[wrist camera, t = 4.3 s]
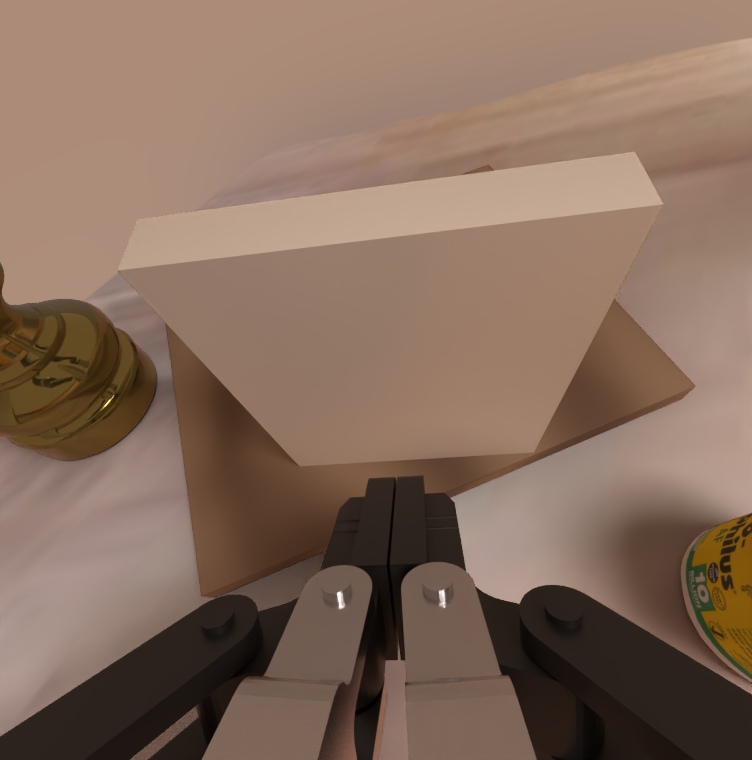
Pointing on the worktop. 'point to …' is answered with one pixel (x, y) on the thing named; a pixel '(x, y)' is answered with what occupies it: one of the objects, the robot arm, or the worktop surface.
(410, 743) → the robot arm
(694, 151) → the worktop surface
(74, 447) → the brass knob
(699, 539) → the supplement bottle
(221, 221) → the tile
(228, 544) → the board
